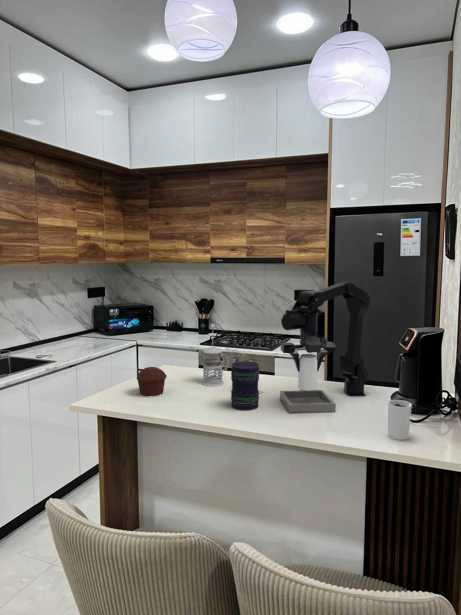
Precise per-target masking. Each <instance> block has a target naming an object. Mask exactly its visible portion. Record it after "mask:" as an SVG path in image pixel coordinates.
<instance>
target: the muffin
mask: <svg viewBox="0 0 461 615" xmlns="http://www.w3.org/2000/svg"><path fill="white" fill-rule="evenodd" d="M167 376H168V375H166V372H165V371H164V370H163V369H161V368H159V367H156V366H147V367H144V368H143V369H141V370H140V371H139V372H138V374H137V376H136V380H137V383H138V390H139V395H140V394H142V395H141V396H143V397H148V396H152V397H159V396H161V395H163V394H164V389H165V383H166V379H167ZM160 394H161V395H160ZM158 395H159V396H158Z"/></svg>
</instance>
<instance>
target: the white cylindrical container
mask: <svg viewBox="0 0 461 615" xmlns="http://www.w3.org/2000/svg"><path fill="white" fill-rule="evenodd" d="M411 414H412V403H411V402H408V401H407V400H401V399H390V400H389V401H387V436H388V438H390V439H394V440H398V441H403V440H404V441H405V440H408V439H409V436H410V435H409V434H410V427H411V426H410V425H411V416H412V415H411Z"/></svg>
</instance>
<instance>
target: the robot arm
mask: <svg viewBox="0 0 461 615" xmlns="http://www.w3.org/2000/svg"><path fill="white" fill-rule="evenodd" d="M340 296H341V298H343V299H344V300H345V303H346V308H347V311H348V313H349V321H348V329H347V330H348V331H347V341H346V343H347V344H346V351H345V353H344V354H343V355H340V358H339V359H340V361H339V365H338V366H339V367H340V371H341V375H342V377H343V378H345V380H344V382H343V383H344V384H343V385H344V386H343V391H344V393H345V394H346V395H347V396H349V397H359V396H366V393H365V381H367V380H368V379H369V375H370V373H369V372H368V371H367V369H366V368H365V367H364V366H365V365H364V364H365V363H364V359H363V356H362V355H361V345H362V344H361V343H362V336H363V335H362V333H363V326H364V325H363V323H364V322H363V321H364V315H365V314H366V312H367V311H368V309H369V307H370V302H371V301H370V300H371V297H370V295H369V293H368V292H367V291H364V290H363V289H361V288H360V287H359V286H357V285H355V284H354V283H352V282H350V281H340V282H338V283H336V284H332V285H329V286H327V287H324V288H322V289H317V290H305V291H300V292H299V296H298V297H297V299H296V300H295V303H294V304H293V306H292V308H291V309H286V310H285V313H284V314H283V315H282V317H281V319H280V321H281V322H280V323H281V325H282V328H283V330H285V331H292V330H294V331H295V330H299V335H300V336H299V337H300V339H299V344H295V343H293V342H289V341H287V342H285V341H284V342H281V343H280V351H281V352H282V353H283V354H289V356H291V358H293V362H294V364H295V367H296V370H297V372H298V373H299V370H300V366H299V358H300V353H299V351H305V352H307V354H312V353H316V358H317V372H319V370H320V367H321V366H322V362H323V361H324V359H325V357H326V356H327V355H330V353H337V350H338V349H337V345H336V344H335V343H334V342H333V341H327V340H328V339H327V337H319V332H318V315H323V312H322V311H321V310H320V307H322V306H323V305H324V303H326V301H329V300H332V299H334V298H335V299H336V298H338V297H340Z"/></svg>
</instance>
